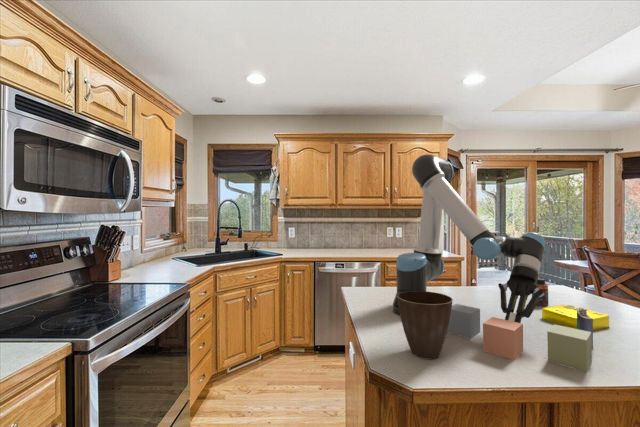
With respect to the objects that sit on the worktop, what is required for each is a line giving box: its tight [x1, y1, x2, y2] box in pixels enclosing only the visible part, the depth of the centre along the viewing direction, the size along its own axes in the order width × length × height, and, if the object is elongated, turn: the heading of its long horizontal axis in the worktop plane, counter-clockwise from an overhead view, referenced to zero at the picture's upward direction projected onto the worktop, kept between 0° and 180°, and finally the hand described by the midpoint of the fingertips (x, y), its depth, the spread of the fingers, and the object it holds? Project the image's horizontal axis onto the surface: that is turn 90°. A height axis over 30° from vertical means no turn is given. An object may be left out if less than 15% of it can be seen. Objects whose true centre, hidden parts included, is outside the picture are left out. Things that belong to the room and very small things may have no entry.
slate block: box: [447, 303, 481, 339], centre depth 102 cm, size 8×8×8 cm
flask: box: [577, 307, 594, 350], centre depth 93 cm, size 9×3×11 cm, turn 151°
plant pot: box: [397, 290, 454, 360], centre depth 87 cm, size 15×15×16 cm
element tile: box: [541, 304, 610, 331], centre depth 112 cm, size 15×15×5 cm
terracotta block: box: [482, 316, 524, 361], centre depth 88 cm, size 8×8×8 cm
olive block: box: [546, 323, 593, 373], centre depth 82 cm, size 8×8×8 cm
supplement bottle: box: [531, 277, 549, 307], centre depth 134 cm, size 6×6×11 cm
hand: (509, 333), depth 91 cm, fingers closed
